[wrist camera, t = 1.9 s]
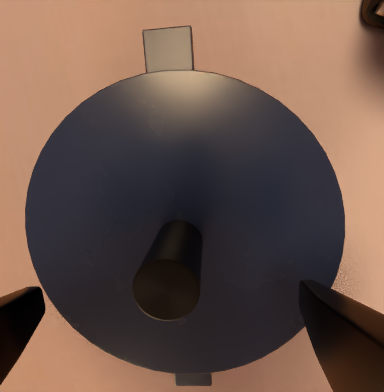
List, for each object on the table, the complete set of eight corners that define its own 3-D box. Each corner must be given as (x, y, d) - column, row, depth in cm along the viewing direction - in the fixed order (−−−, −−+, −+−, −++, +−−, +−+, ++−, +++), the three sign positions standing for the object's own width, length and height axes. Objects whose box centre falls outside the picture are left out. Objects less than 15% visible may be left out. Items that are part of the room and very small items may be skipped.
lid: (343, 61, 12) (455, -5, 7) (327, 358, 16) (392, 477, 10) (11, 88, 13) (-127, 52, 8) (63, 359, 17) (-6, 466, 11)
